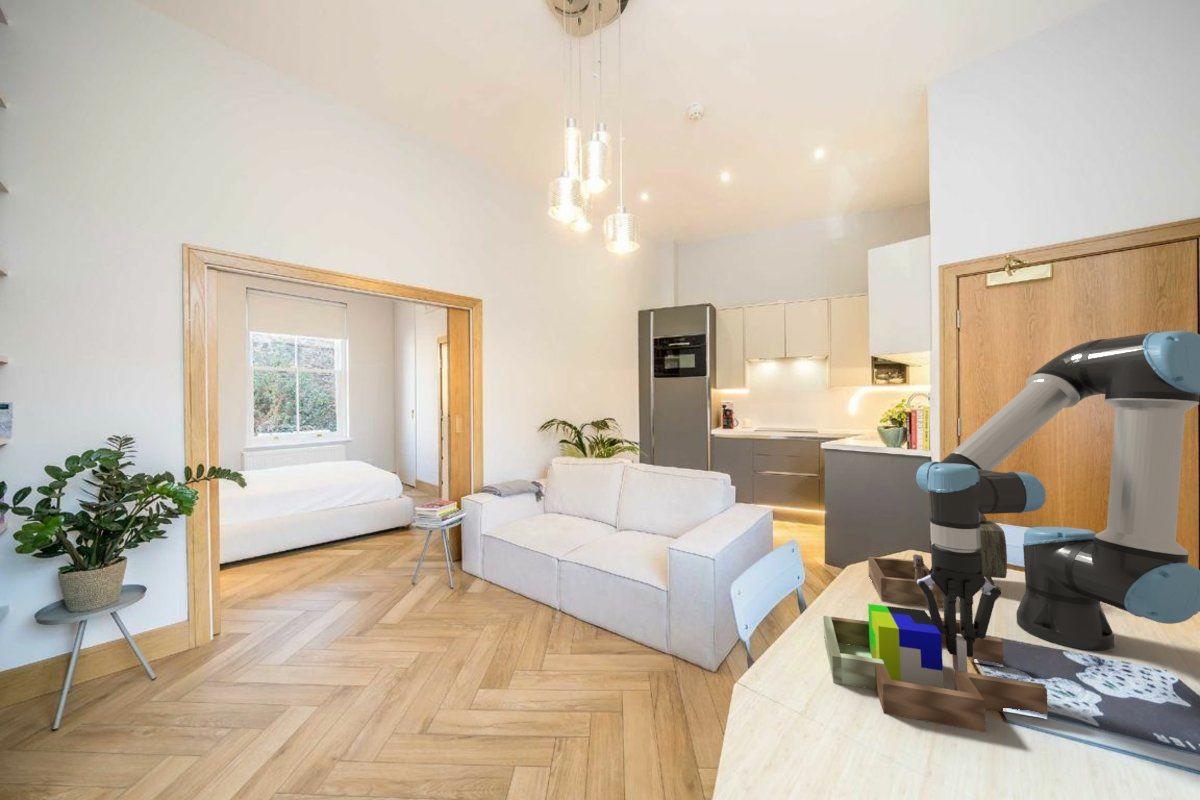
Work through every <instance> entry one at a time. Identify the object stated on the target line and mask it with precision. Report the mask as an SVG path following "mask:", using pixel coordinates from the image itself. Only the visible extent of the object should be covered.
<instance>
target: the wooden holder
mask: <svg viewBox="0 0 1200 800" xmlns="http://www.w3.org/2000/svg"><path fill="white" fill-rule="evenodd" d="M867 559H868V560H867V562H868V563H867V566H868V578H869V577H870V578H869V579H871V580H872V582H871V584H872V583H873V584H874V586H875V588H874V589H875V591H876V593H877V595H878V597H879V599H880V601H881V602H886V603H887V602H888V603H897V604H904V605H914V606H921V607H922V606H923V607H927V603H926V600H925V597H924V594H923V591H922V589H921V588H920V586H919V585H918V584H917V582H916V580H915V568H914V564H913V559H902V558H892V557H881V556H880V557H879V556H878V557H877V556H876V557H875V556H868V557H867ZM929 571H930V569H929V568H928V567H927V565H926V564H925V566H924V568H923V574H924V577H926V576H928V575H929ZM871 580H870V581H871ZM873 584H872V585H873ZM932 585H933V589H932V590H931V591H932V593H933V595H934V598H935V601H936V604H937V607H938V609H940V608H941V609H942V608H943V609H944V603H943V595H942V591H941V590H940V588H939V587H938V586H937V585H936V584H935V582H933V583H932ZM874 586H873V587H874Z"/></svg>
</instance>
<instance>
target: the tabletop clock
mask: <svg viewBox="0 0 1200 800" xmlns="http://www.w3.org/2000/svg"><path fill="white" fill-rule="evenodd" d="M980 535H981V548H980V549H978V550H979V551H980V552H981V558H982V574H983V576H984V578H985V579H987V580H988V583H989V584H993V585H994V586H996V587H997V588H998V589H999V590H1000V591H1001V592H1002V590H1001V588H1000V587H999V586H997V585H996V584H995V582H994V580H993V578H997V579H1006V577H1007V572H1008V571H1007V570H1008V553H1007V552H1008V551H1007V541H1006V540H1007V539H1006V535H1005V532H1004V529H1003V528H1002V527H1001V526H1000V525H999V524H997V523H996V522H994V521H992V520H990V519H988V518H986V516H985V514H980Z"/></svg>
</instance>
